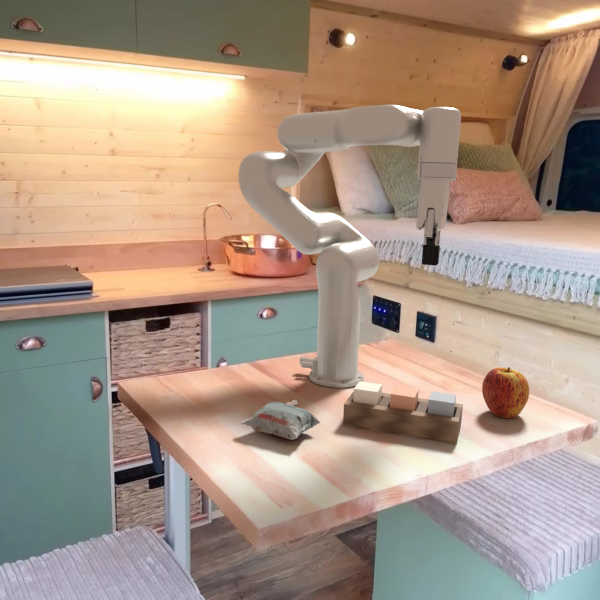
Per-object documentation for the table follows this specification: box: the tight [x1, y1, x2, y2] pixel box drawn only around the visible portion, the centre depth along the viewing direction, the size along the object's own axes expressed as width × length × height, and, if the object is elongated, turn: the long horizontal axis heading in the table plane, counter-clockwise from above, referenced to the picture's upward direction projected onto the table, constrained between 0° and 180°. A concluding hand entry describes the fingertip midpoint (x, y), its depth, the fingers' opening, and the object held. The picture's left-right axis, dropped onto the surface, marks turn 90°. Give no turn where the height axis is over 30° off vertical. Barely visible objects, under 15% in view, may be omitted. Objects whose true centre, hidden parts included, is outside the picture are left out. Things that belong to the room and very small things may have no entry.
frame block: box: [342, 390, 464, 446], centre depth 117 cm, size 21×9×4 cm, turn 71°
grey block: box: [428, 391, 457, 417], centre depth 114 cm, size 4×4×5 cm
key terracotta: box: [390, 385, 419, 411], centre depth 116 cm, size 4×4×5 cm
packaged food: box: [240, 401, 321, 441], centre depth 111 cm, size 9×12×5 cm
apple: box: [481, 367, 530, 419], centre depth 123 cm, size 9×9×10 cm
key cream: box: [353, 381, 383, 406], centre depth 118 cm, size 4×4×5 cm
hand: (430, 264), depth 125 cm, fingers closed
